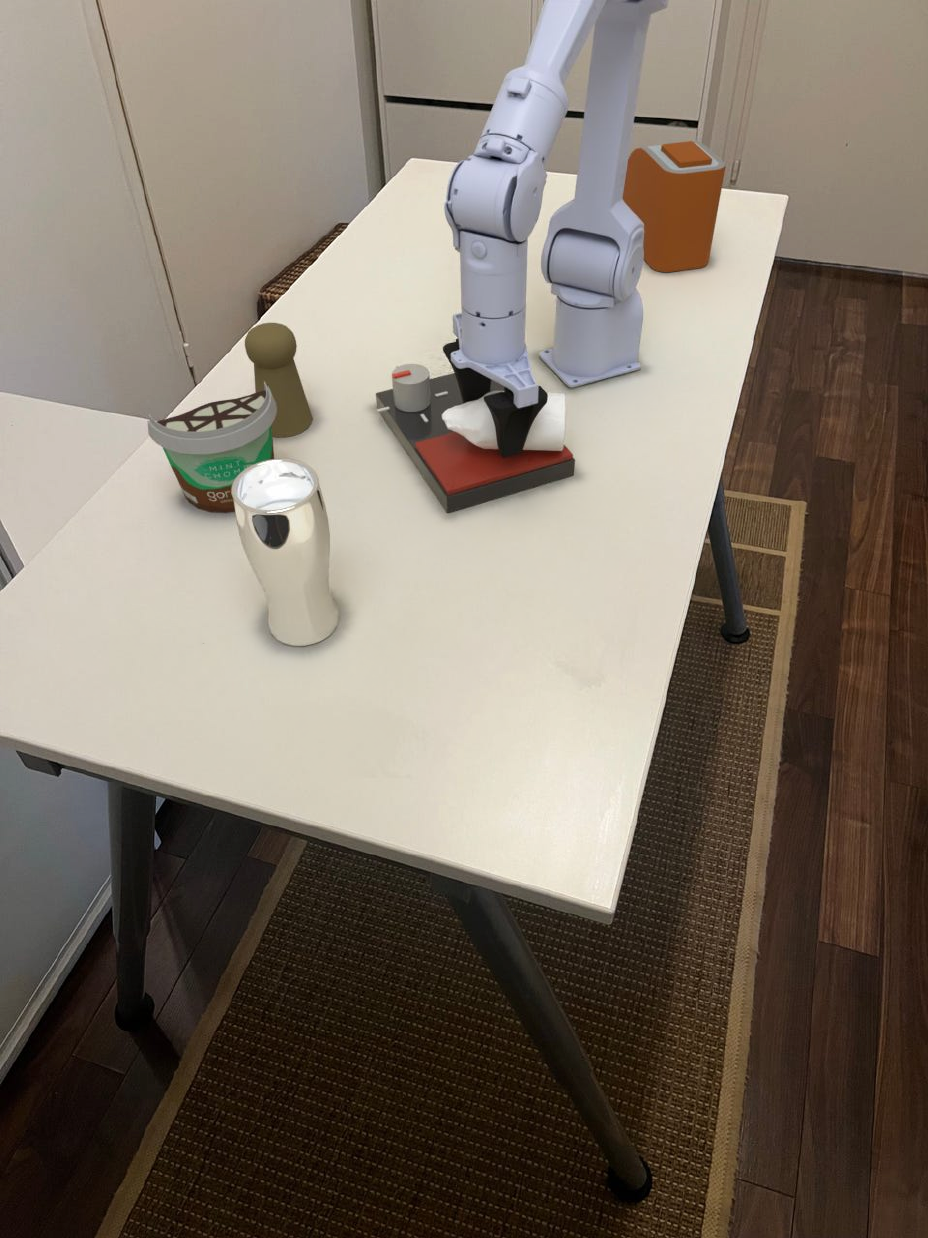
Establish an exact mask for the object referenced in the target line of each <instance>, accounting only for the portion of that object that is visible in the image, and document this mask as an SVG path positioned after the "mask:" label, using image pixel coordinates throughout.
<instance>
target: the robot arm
mask: <svg viewBox="0 0 928 1238" xmlns="http://www.w3.org/2000/svg"><path fill="white" fill-rule="evenodd" d="M668 5H669V0H544V1H543V4H542V6H541V9H540V10H541V11H540V14H539V17H538V19H537V22H536V27H535V29H534V33H533V36H532V39H531V43H530V45H529V49H528V52H527V55H526V58H525V62H524V64H523V65H522V66H520V67H516V68H514V69H512V70H510V71H509V72H507V73H506V75H505V76H504V78H503V81H502V83H501V86H500V88H499V90H498V92H497V95H496V97H495V99H494V100H495V101H494V102H493V104H492V108H491V110H490V112H489V115H488V117H487V120H486V121H485V125H484V127H483V130H482V132H481V134H480V137H479V140H478V142H477V145H476V147H475V149H474V152H473V154H471V155H468V156H467V159H462V160H460V161H458V162H457V164H456V165H455V166H454V168H453V169H452V171H451V173H450V176H449V180H448V183H447V188H446V195H445V202H444V203H443V207H444V215H445V220H446V222H447V225H448V226H449V228H450V229H451V232H452V245H453V247H454V250H455V251H457V252H458V253H459V260H460V261H459V266H460V268H459V269H460V302H461V303H460V305H461V307H460V308H461V312H459V313H454V314H452V333H453V334H454V336H455V337H457V338H455V341H452V342H448V343H446V344H444V346H442V352H443V354H444V355H445V357H446V358H447V360H448V362H449V364H450V366H451V368H452V370H453V373H455V376H456V378H457V382H458V385H459V389H460V392H461V396H462V400H463V403H466V402H470V401H474V400H478V399H480V398H482V397H483V396H484V395H486V394H487V393H489V392H490V388H491V379H492V380H493V381H495V382H497V383H499V384H501V385H503V386H505V387H504V392H503V391H502V392H499V393H495V394H491V395H487V396H484V401H485V403H486V405H487V406H488V408H489V410H490V412H491V415H492V418H493V421H494V425H495V430H496V438H497V445H498V450H499V453H500V455H501V456H502V457H503V458H507V457H510V456H514V455H517V454H521V453H522V450H523V447H524V445H525V442H526V439H527V436H528V433H529V430H530V428H531V425H532V423H533V421H534V419H535V418H536V416H537V415H538V413H539V412H540V410H541V409H542V408H543V407H544V406H545V404H546V403H547V399H548V394H547V393H548V392H547V391H546V390H545V388H543V387H542V386H541V385H540V384H539V383H538V382H537V381H536V379H535V377H534V375H533V374H534V373H533V371H532V365H531V361H530V357H529V352H528V346H527V344H526V316H527V315H526V314H527V313H526V312H527V311H526V310H527V283H528V282H527V281H528V280H527V276H528V247H529V246H528V245H529V244H528V243H529V238H530V236H531V234H532V233H533V231H534V229H535V227H536V224H537V222H538V220H539V217H540V214H541V210H542V204H543V196H544V190H545V186H546V183H547V179H548V173H547V171H546V168H545V167H546V164H547V162H548V160H549V158H550V154H551V153H552V150H553V147H554V145H555V143H556V140H557V137H558V135H559V132H560V130H561V128H562V125H563V123H564V120H565V118H566V115H567V113H568V110H569V108H570V107H569V105H570V104H569V103H570V102H569V101H570V100H569V97H568V95H567V92H566V89H565V87H564V85H565V83H566V81H567V79H568V77H569V75H570V73H571V71H572V69H573V67H574V66H575V63H576V62H577V59H578V57H579V55H580V54H581V52H582V49H583V48H584V45H585V44H586V41H587V40H588V38H589V36H590V33H591V32H592V30H593V38H592V45H591V55H590V63H589V72H588V79H587V87H586V97H585V104H584V105H585V106H584V113H583V121H582V130H581V140H580V148H579V156H578V164H577V174H576V183H575V190H574V198H573V199H571V200H570V201H567V202H566V203H564V204H563V205H561V206H560V207H559V208H557V209H556V210H555V211H554V213H553V214H552V216H550V219H549V223H548V230H547V234H546V238H545V241H544V244H543V247H542V251H541V257H540V258H541V259H540V271H541V274H542V276H543V279H544V281H545V282H546V283H547V284H549V285H551V286H550V294H551V295H555V296H556V299H555V315H554V316H555V318H554V332H553V333H554V335H553V348H549V349H545V350H542V351H539V353H538V357H539V358H540V359H541V360H542V361H543V362H544V363H545V364H546V365H547V366H548V367H549V368H550V370H551V371H552V372H553V373H554V374H555V375H556V376H557V377H558V378H559V379H560V380H561V381H562V382H563V383H564V384H565V385H566V386H567V387H568V388H576V387H580V386H584V385H587V384H591V383H595V382H598V381H603V380H606V379H609V378H613V377H616V376H620V375H624V374H627V373H631V372H635V371H639V370H640V369H642V368H641V367H642V365H641V363H640V362H639V353H640V346H641V337H642V331H643V323H644V306H643V301H642V298H641V294H640V293H639V290H638V289H637V288H636V287H637V286H638V284H639V281H640V278H641V274H642V270H643V267H644V261H645V260H644V250H643V239H644V223H643V222H642V221H641V220H640V218H639V217H638V216H637V215H636V214H635V213H634V212H633V211H632V210H631V209H630V208H629V207H628V206H627V205H626V203H625V202H624V201H623V199H622V197H623V191H624V184H625V177H626V170H627V164H628V159H629V157H630V150H631V143H632V136H633V130H634V123H635V122H634V121H635V116H636V110H637V102H638V95H639V89H640V88H639V87H640V82H641V76H642V68H643V62H644V56H645V48H646V43H647V42H646V41H647V35H648V31H649V26H650V22H651V17H652V15H653V14H655V13H658V12H660V11H663V10H665V9H667V8H668ZM593 27H594V29H593Z"/></svg>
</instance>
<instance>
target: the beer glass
mask: <svg viewBox="0 0 928 1238" xmlns="http://www.w3.org/2000/svg"><path fill="white" fill-rule="evenodd" d="M319 481H320V480H319V475H318V474H317V472H316V470H315V469H314V468H313V467H312V466H310V465H309V464H307V463H305V462H303V461H300V460H298V459H291V458H274V459H271V460H266V461H262V462H259V463H256V464H254V465H252V466H250V467H248V468H246V469H245V470H244V471H242V472H241V473H240V474H239V475H238V476H237V477H236V479H235V480H234V482H233V485H232V489H231V492H232V497H233V501H234V508H235V512H234V514H235V520H236V526H237V531H238V535H239V538H240V541H241V544H242V548H243V551H244V554H245V556H246V558H247V560H248V563H249V565H250V566H251V569H252V571H253V573H254V575H255V576H256V579H257V581H258V582H259V584H260V586H261V588H262V591H263V592H264V594H265V597H266V601H267V609H268V610H267V623H268V629H269V631H270V633H271V635H272V636H273V637H274V638H275V639H276V640H277V641H278V642H281V643H282V644H285V645H288V646H291V647H292V646H293V647H305V646H311V645H314V644H317V643H320V642H321V641H323V640H325V639H327V638H328V637H329V636H330V635H331V634H333V632H334V631H335V630H336V628H337V627H338V623H339V620H340V619H339V618H340V614H339V609H338V607H337V605H336V603H335V600H334V598H333V595H332V593H331V589H330V583H329V582H330V581H329V573H330V558H331V557H330V556H331V532H330V531H331V530H330V524H329V517H328V513H327V508H326V502H325V500H324V496H323V493H322V489H321V486H320V482H319Z"/></svg>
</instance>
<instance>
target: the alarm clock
mask: <svg viewBox="0 0 928 1238" xmlns="http://www.w3.org/2000/svg"><path fill="white" fill-rule="evenodd" d="M725 172H726V163H725V162H724V161H723V159H721V158H720V157H719V156H718V155H717V154H715V152H713V151H712V150H711V149H710V148H709V147H708V146H706V145H705V144H704V143H702V142H700V141H698V140H688V141H680V142H670V143H663V144H658V145H650V146H649V145H647V146H640V147H636V148H635V149H633V151H632V152H631V153H630V154H629V157H628V164H627V170H626V177H625V184H624V191H623V197H622V199H623V201H624V202H625V203H626V205H627V206H628V207H629V208H630V209H631V210H632V211H633V212H634V213H635V214H636V215H637V216H638V217H639V218H640V220H641V221H642V222H643V223H644V239H643V250H644V260H643V261H645V262H646V263H647V265H648V266H649V267H650V268H651V269H652V270H654V271H657V272H661V273H672V272H680V271H688V270H696V269H701V268H704V267H706V266H707V265H708V264H709V262H710V256H711V252H712V251H711V250H712V245H713V240H714V235H715V228H716V222H717V216H718V211H719V207H720V200H721V194H722V189H723V183H724V177H725Z"/></svg>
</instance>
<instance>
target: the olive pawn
mask: <svg viewBox="0 0 928 1238" xmlns="http://www.w3.org/2000/svg"><path fill="white" fill-rule="evenodd" d="M297 345H298V344H297V340H296V337H295V334H294V332H293V331H292V330H291V329H290V328H289V327H288V325H286V324H283V323H278V322H265V323H260V324H257V325H255V326H253V327H252V328H251V329H249V331H247V333H246V336H245V338H244V349H245V353H246V355H247V357H248V359H249V360H250V362H252V363H253V373H254V389H255V390H254V391H255V392H254V393H256V392H261V391H264V381H265V383H266V385H267V387H269V389H270V391H271V393H272V395H273V398H274V400H275V402H276V406H277V413H276V416H275V419H274V421H273V423H272V424H271V426H272V438H290V437H294V436H297V435H300V434H302V433H304V432H305V431H306V430H308V429H309V428H310V427H311V426H312V423H313V420H314V417H313V415H312V412H311V409H310V405H309V402H308V399H307V396H306V393H305V390H304V386H303V384H302V381H301V378H300V375H299V371H298V368H297V365H296V362H295V359H294V358H295V356H296V354H297V347H298V346H297Z"/></svg>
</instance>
